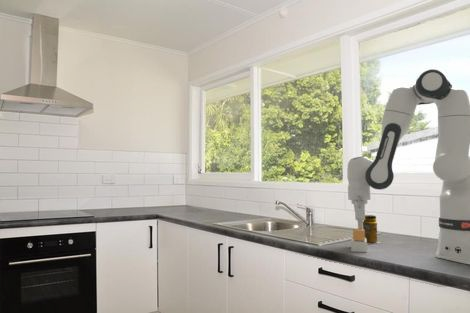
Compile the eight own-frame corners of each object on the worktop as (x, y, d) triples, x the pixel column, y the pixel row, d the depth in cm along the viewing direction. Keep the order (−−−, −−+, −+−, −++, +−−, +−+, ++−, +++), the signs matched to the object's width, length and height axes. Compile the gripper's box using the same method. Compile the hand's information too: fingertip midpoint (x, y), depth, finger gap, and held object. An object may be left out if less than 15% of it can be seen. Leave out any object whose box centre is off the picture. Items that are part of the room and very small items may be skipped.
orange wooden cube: (353, 238, 154) (353, 228, 154) (364, 239, 153) (364, 229, 153) (353, 240, 150) (353, 230, 150) (364, 241, 149) (364, 230, 149)
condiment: (381, 242, 168) (381, 216, 169) (367, 244, 165) (366, 217, 165) (369, 240, 175) (369, 214, 175) (355, 241, 171) (355, 215, 172)
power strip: (351, 246, 159) (351, 236, 160) (366, 247, 158) (366, 237, 158) (351, 251, 150) (351, 240, 150) (367, 252, 148) (366, 241, 148)
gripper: (367, 196, 145) (369, 232, 144) (366, 194, 164) (367, 226, 163) (350, 196, 147) (352, 232, 146) (351, 194, 166) (352, 225, 165)
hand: (360, 229), depth 155 cm, fingers closed
